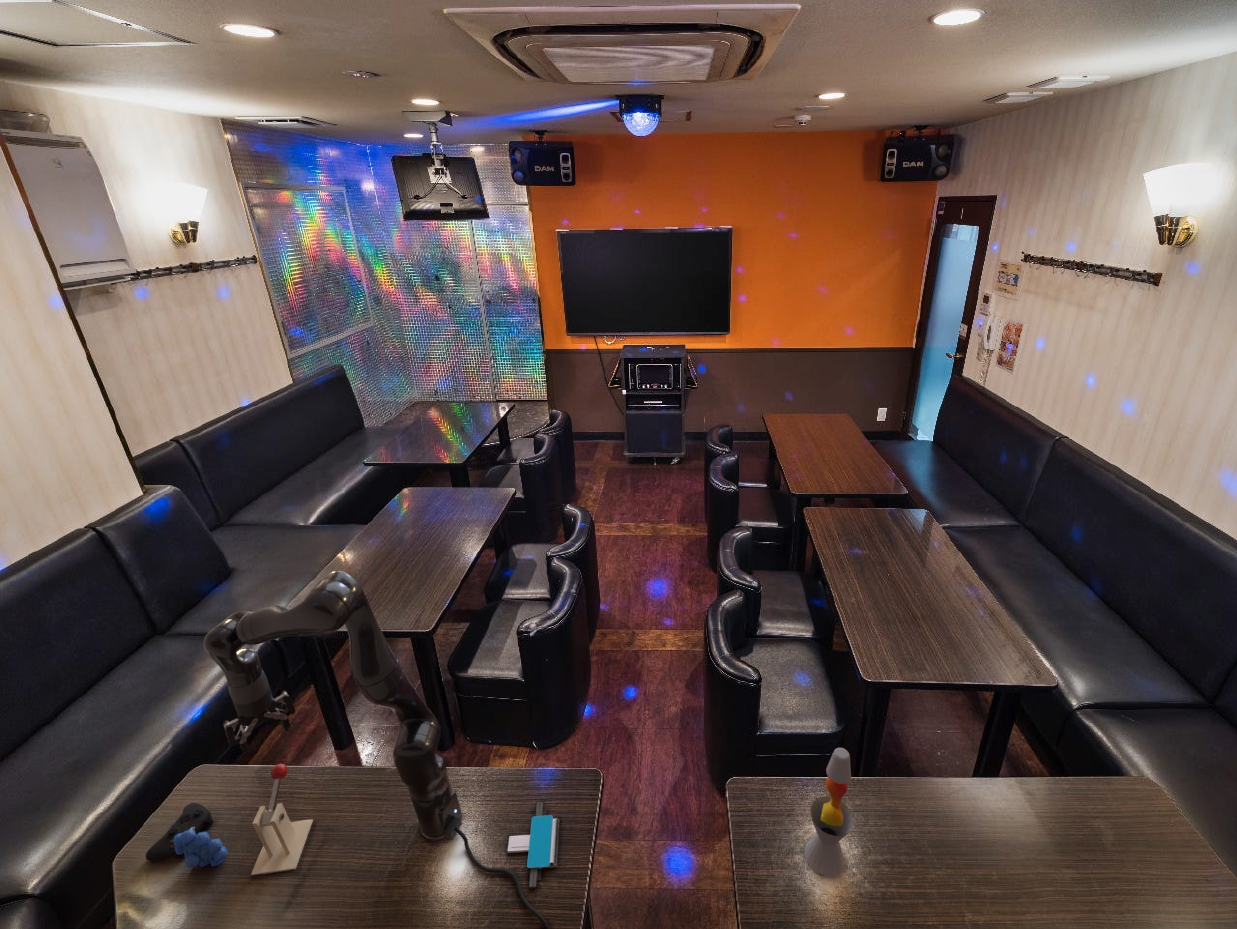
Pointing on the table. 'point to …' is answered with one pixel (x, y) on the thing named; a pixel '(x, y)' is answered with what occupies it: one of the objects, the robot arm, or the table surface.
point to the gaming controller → (180, 831)
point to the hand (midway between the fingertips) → (267, 739)
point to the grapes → (199, 848)
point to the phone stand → (538, 844)
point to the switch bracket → (279, 841)
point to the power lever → (274, 792)
